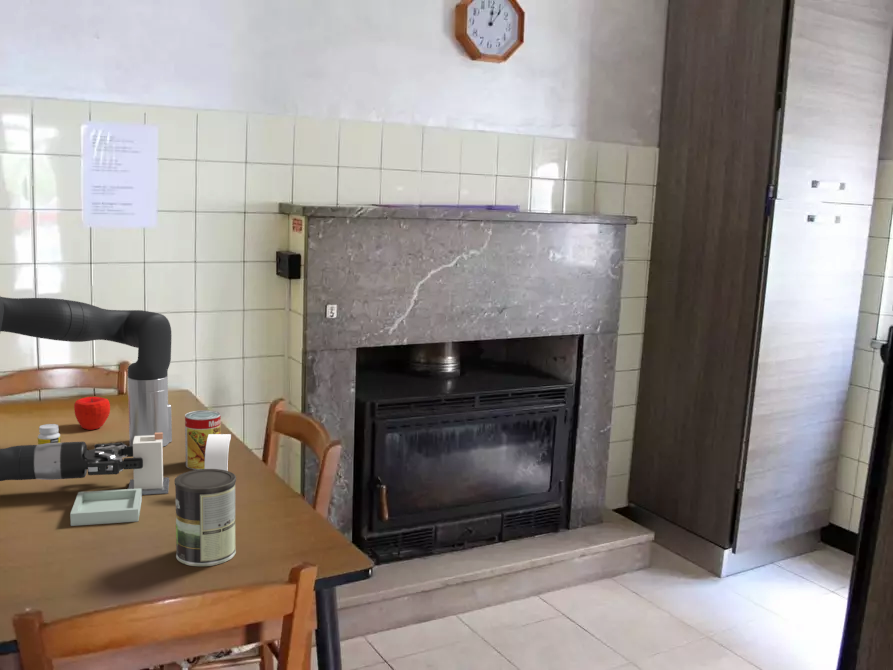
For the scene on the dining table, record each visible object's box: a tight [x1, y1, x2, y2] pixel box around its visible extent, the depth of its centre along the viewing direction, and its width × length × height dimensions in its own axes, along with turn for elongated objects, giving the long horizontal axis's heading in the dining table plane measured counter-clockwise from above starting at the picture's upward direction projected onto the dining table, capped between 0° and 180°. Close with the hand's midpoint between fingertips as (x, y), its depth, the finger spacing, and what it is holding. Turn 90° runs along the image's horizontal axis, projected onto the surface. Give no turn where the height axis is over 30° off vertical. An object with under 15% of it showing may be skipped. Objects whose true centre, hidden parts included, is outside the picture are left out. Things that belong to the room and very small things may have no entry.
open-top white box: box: [132, 432, 164, 489], centre depth 183 cm, size 6×6×11 cm
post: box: [127, 476, 170, 496], centre depth 183 cm, size 8×8×8 cm
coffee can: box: [174, 469, 237, 568], centre depth 151 cm, size 10×10×14 cm
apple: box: [73, 396, 111, 431], centre depth 226 cm, size 9×9×8 cm
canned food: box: [184, 409, 222, 471], centre depth 199 cm, size 8×8×12 cm
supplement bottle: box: [37, 423, 62, 445], centre depth 198 cm, size 5×5×8 cm
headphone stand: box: [205, 433, 232, 471], centre depth 182 cm, size 5×6×12 cm
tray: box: [69, 488, 143, 527], centre depth 170 cm, size 12×12×2 cm
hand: (144, 456), depth 183 cm, fingers open, 8 cm apart
